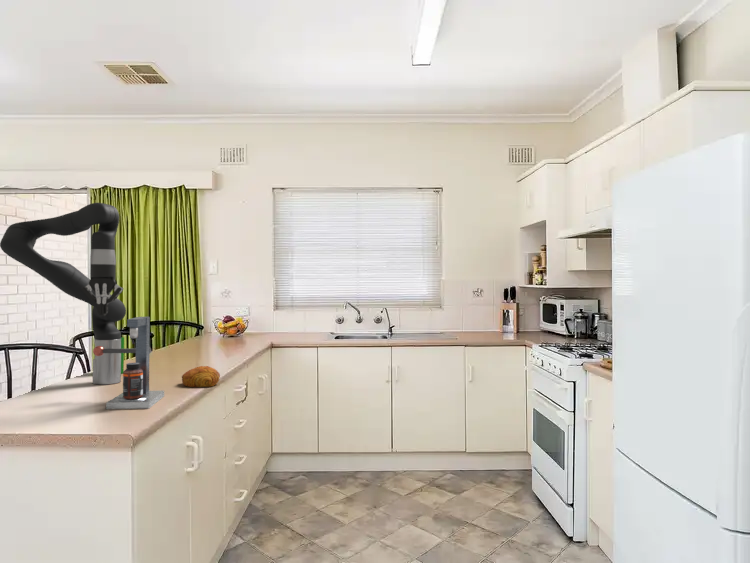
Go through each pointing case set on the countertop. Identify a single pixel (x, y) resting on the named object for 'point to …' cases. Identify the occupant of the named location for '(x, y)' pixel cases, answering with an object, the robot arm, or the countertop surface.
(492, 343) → the countertop surface
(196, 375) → the croissant
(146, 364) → the press
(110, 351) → the lever
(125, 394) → the supplement bottle
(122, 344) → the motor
